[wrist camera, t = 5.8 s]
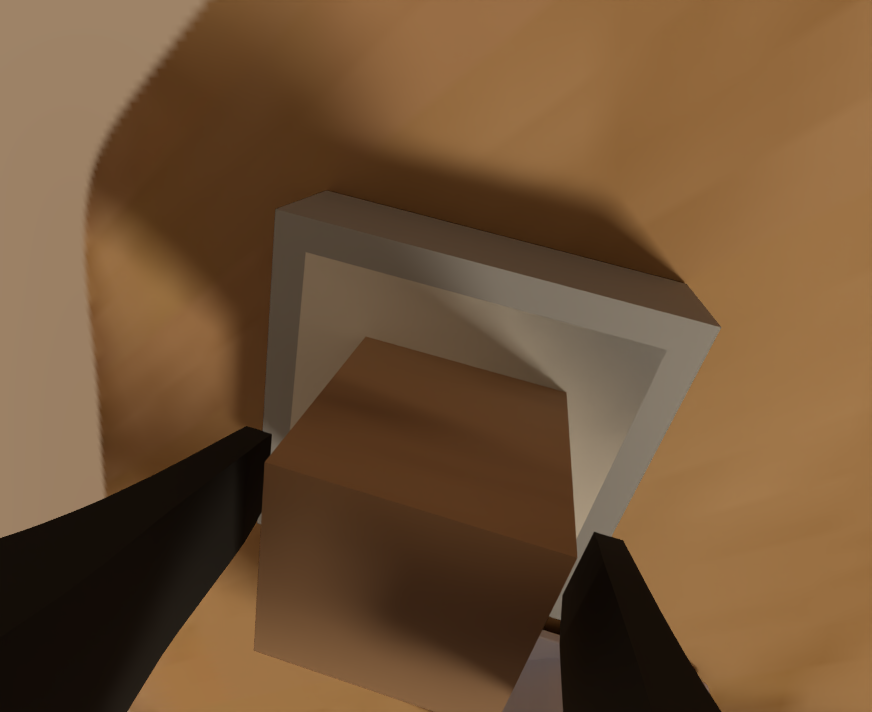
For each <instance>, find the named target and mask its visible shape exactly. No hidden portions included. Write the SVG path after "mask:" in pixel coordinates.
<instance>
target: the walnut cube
mask: <svg viewBox="0 0 872 712" xmlns="http://www.w3.org/2000/svg"><path fill="white" fill-rule="evenodd" d="M577 558H578V557H577V542H576V527H575V512H574V497H573V482H572V467H571V452H570V437H569V422H568V407H567V392H563V391H559V390H556V389H552V388H549V387H545V386H541V385H538V384H534V383H531V382H527V381H524V380H520V379H516V378H513V377H509V376H506V375H502V374H498V373H495V372H491V371H488V370H484V369H481V368H477V367H473V366H470V365H466V364H463V363H459V362H455V361H452V360H448V359H445V358H441V357H438V356H434V355H430V354H427V353H423V352H420V351H416V350H412V349H409V348H405V347H402V346H398V345H395V344H391V343H387V342H384V341H380V340H377V339H373V338H370V337H365V338H364V339H363V340H362V342H361V343H360V344H359V345H358V347H357V348H356V349H355V350H354V352H353V353H352V354H351V355H350V357H349V358H348V359H347V360H346V362H345V363H344V364H343V365H342V367H341V368H340V369H339V370H338V372H337V373H336V374H335V375H334V377H333V378H332V379H331V380H330V381H329V383H328V384H327V385H326V386H325V388H324V389H323V390H322V391H321V393H320V394H319V395H318V396H317V398H316V399H315V400H314V401H313V403H312V404H311V405H310V406H309V408H308V409H307V410H306V411H305V413H304V414H303V415H302V416H301V418H300V419H299V420H298V421H297V423H296V424H295V425H294V426H293V428H292V429H291V430H290V431H289V433H288V434H287V435H286V436H285V437H284V439H283V440H282V441H281V442H280V444H279V445H278V446H277V447H276V449H275V450H274V451H273V452H272V454H271V455H270V456H269V457H268V459H267V460H266V461H265V464H264V482H263V499H262V517H261V534H260V551H259V569H258V586H257V604H256V621H255V639H254V651H256V652H259V653H262V654H265V655H268V656H271V657H274V658H277V659H280V660H283V661H286V662H289V663H292V664H295V665H297V666H300V667H303V668H306V669H309V670H312V671H315V672H318V673H321V674H324V675H327V676H330V677H333V678H336V679H339V680H342V681H345V682H348V683H351V684H353V685H356V686H359V687H362V688H365V689H368V690H371V691H374V692H377V693H380V694H383V695H386V696H389V697H392V698H395V699H398V700H401V701H404V702H407V703H409V704H412V705H415V706H418V707H421V708H424V709H427V710H430V711H433V712H502V711H503V709H504V707H505V705H506V703H507V701H508V699H509V697H510V695H511V693H512V691H513V689H514V687H515V685H516V683H517V681H518V679H519V677H520V675H521V673H522V670H523V668H524V666H525V664H526V662H527V660H528V658H529V656H530V654H531V652H532V650H533V648H534V646H535V644H536V642H537V640H538V638H539V636H540V634H541V632H542V630H543V628H544V626H545V623H546V621H547V619H548V617H549V615H550V613H551V611H552V609H553V607H554V605H555V603H556V601H557V599H558V597H559V595H560V593H561V591H562V589H563V587H564V585H565V583H566V581H567V578H568V576H569V574H570V572H571V570H572V568H573V566H574V564H575V562H576V560H577Z"/></svg>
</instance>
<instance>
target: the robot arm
mask: <svg viewBox="0 0 872 712" xmlns="http://www.w3.org/2000/svg"><path fill="white" fill-rule="evenodd" d="M271 441H272V434H270V433H267V432H264V431H261V430H257V429H254V428H251V427H247V426H246V427H244V428H242V429H240V430H238V431H236V432H234V433H232V434H231V435H229V436H227V437H225V438H223V439H221V440H219V441H217V442H216V443H214V444H212V445H210V446H208V447H206V448H205V449H203V450H201V451H199V452H197V453H195V454H193V455H192V456H190V457H188V458H186V459H184V460H182V461H180V462H178V463H176V464H174V465H172V466H170V467H168V468H167V469H165V470H163V471H161V472H159V473H157V474H155V475H153V476H151V477H149V478H147V479H145V480H143V481H140V482H138V483H136V484H134V485H132V486H130V487H128V488H126V489H123V490H121V491H119V492H117V493H115V494H113V495H111V496H109V497H106V498H104V499H102V500H100V501H97V502H95V503H93V504H90V505H88V506H86V507H84V508H81V509H79V510H76V511H74V512H71V513H68V514H66V515H64V516H61V517H58V518H56V519H53V520H51V521H48V522H45V523H43V524H40V525H38V526H35V527H32V528H29V529H26V530H23V531H20V532H17V533H14V534H12V535H9V536H5V537H2V538H0V712H127V711H128V710H129V708H130V706H131V705H132V703H133V701H134V700H135V698H136V696H137V695H138V693H139V692H140V690H141V688H142V687H143V685H144V683H145V682H146V680H147V679H148V677H149V675H150V674H151V672H152V670H153V669H154V667H155V666H156V664H157V662H158V661H159V659H160V658H161V656H162V654H163V653H164V652H165V650H166V649H167V647H168V646H169V644H170V643H171V641H172V640H173V639H174V637H175V636H176V634H177V633H178V631H179V630H180V629H181V627H182V626H183V625H184V623H185V622H186V621H187V619H188V618H189V617H190V615H191V614H192V613H193V611H194V610H195V609H196V607H197V606H198V605H199V603H200V602H201V601H202V599H203V598H204V597H205V595H206V594H207V592H208V591H209V590H210V588H211V587H212V586H213V584H214V583H215V582H216V580H217V579H218V578H219V576H220V575H221V574H222V572H223V571H224V570H225V568H226V567H227V566H228V564H229V563H230V561H231V560H232V559H233V557H234V556H235V555H236V553H237V552H238V550H239V549H240V548H241V546H242V545H243V544H244V542H245V540H246V539H247V537H248V535H249V534H250V532H251V530H252V528H253V527H254V525H255V523H256V521H257V520H258V518H259V516H260V514H261V513H262V499H263V482H264V464H265V461H266V460H267V459H268V457H269V456H270V455H271ZM502 712H721V711H720V709H719V707H718V706H717V704H716V703H715V701H714V700H713V698H712V697H711V695H710V692H709V689H708V686H707V685H706V684H705V683H704V682H702V681H701V679H700V678H699V676H698V674H697V673H696V671H695V670H694V668H693V666H692V665H691V663H690V661H689V660H688V658H687V656H686V655H685V653H684V651H683V650H682V648H681V646H680V644H679V643H678V641H677V639H676V637H675V636H674V634H673V632H672V630H671V629H670V627H669V625H668V623H667V622H666V620H665V618H664V616H663V614H662V613H661V611H660V609H659V607H658V605H657V603H656V602H655V600H654V598H653V596H652V594H651V592H650V590H649V589H648V587H647V585H646V583H645V581H644V579H643V577H642V575H641V573H640V572H639V570H638V568H637V566H636V564H635V562H634V560H633V558H632V556H631V555H630V553H629V551H628V549H627V547H626V545H625V543H624V541H623V540H620V539H616V538H613V537H610V536H606V535H603V534H600V533H597V532H594V533H593V535H592V537H591V539H590V541H589V543H588V545H587V547H586V549H585V551H584V553H583V555H582V557H581V559H580V561H579V563H578V565H577V567H576V569H575V571H574V573H573V575H572V577H571V579H570V581H569V583H568V585H567V587H566V589H565V591H564V593H563V595H562V608H561V622H560V635H558V634H555V633H552V632H548V631H545V630H542V632H541V634H540V636H539V638H538V640H537V642H536V644H535V646H534V648H533V650H532V652H531V654H530V656H529V658H528V660H527V662H526V664H525V666H524V668H523V670H522V673H521V675H520V677H519V679H518V681H517V683H516V685H515V687H514V689H513V691H512V693H511V695H510V697H509V699H508V701H507V703H506V705H505V707H504V709H503V711H502Z"/></svg>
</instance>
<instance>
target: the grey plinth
mask: <svg viewBox="0 0 872 712" xmlns="http://www.w3.org/2000/svg"><path fill="white" fill-rule="evenodd" d="M720 329H721V326H720V325H719V324H718V323H717V321H716V320H715V319H714V318H713V316H712V315H711V314H710V313H709V311H708V310H707V309H706V308H705V306H704V305H703V304H702V303H701V301H700V300H699V299H698V298H697V296H696V295H695V294H694V293H693V291H692V290H691V289H690V288H689V286H688V285H687V284H685V283H681V282H677V281H673V280H670V279H666V278H662V277H658V276H654V275H650V274H647V273H643V272H639V271H635V270H631V269H627V268H623V267H620V266H616V265H612V264H608V263H604V262H600V261H596V260H593V259H589V258H585V257H581V256H577V255H573V254H570V253H566V252H562V251H558V250H554V249H550V248H546V247H543V246H539V245H535V244H531V243H527V242H523V241H520V240H516V239H512V238H508V237H504V236H500V235H496V234H493V233H489V232H485V231H481V230H477V229H473V228H469V227H466V226H462V225H458V224H454V223H450V222H446V221H443V220H439V219H435V218H431V217H427V216H423V215H419V214H416V213H412V212H408V211H404V210H400V209H396V208H393V207H389V206H385V205H381V204H377V203H373V202H369V201H366V200H362V199H358V198H354V197H350V196H346V195H342V194H339V193H335V192H331V191H327V190H326V191H324V192H321V193H318V194H315V195H313V196H310V197H307V198H304V199H302V200H299V201H296V202H293V203H291V204H288V205H285V206H283V207H280V208H277V209H275V225H274V242H273V260H272V277H271V295H270V312H269V329H268V347H267V364H266V382H265V399H264V417H263V431H264V432H267V433H270V434H272V441H271V454H272V452H273V451H274V450H275V449H276V447H277V446H278V445H279V444H280V442H281V441H282V440H283V439H284V437H285V436H286V435H287V434H288V433H289V431H290V430H291V429H292V428H293V426H294V425H295V424H296V423H297V421H298V420H299V419H300V418H301V416H302V415H303V414H304V413H305V411H306V410H307V409H308V408H309V406H310V405H311V404H312V403H313V401H314V400H315V399H316V398H317V396H318V395H319V394H320V393H321V391H322V390H323V389H324V388H325V386H326V385H327V384H328V383H329V381H330V380H331V379H332V378H333V377H334V375H335V374H336V373H337V372H338V370H339V369H340V368H341V367H342V365H343V364H344V363H345V362H346V360H347V359H348V358H349V357H350V355H351V354H352V353H353V352H354V350H355V349H356V348H357V347H358V345H359V344H360V343H361V342H362V340H363V339H364V338H365V337H370V338H373V339H377V340H380V341H384V342H387V343H391V344H395V345H398V346H402V347H405V348H409V349H412V350H416V351H420V352H423V353H427V354H430V355H434V356H438V357H441V358H445V359H448V360H452V361H455V362H459V363H463V364H466V365H470V366H473V367H477V368H481V369H484V370H488V371H491V372H495V373H498V374H502V375H506V376H509V377H513V378H516V379H520V380H524V381H527V382H531V383H534V384H538V385H541V386H545V387H549V388H552V389H556V390H559V391H563V392H567V407H568V422H569V437H570V452H571V467H572V482H573V497H574V512H575V527H576V542H577V557H578V558H577V560H576V562H575V564H574V566H573V568H572V570H571V572H570V574H569V576H568V578H567V581H566V583H565V585H564V587H563V589H562V591H561V593H560V595H559V597H558V599H557V601H556V603H555V605H554V607H553V609H552V611H551V613H550V615H549V617H552V618H555V619H559V620H561V608H562V595H563V593H564V591H565V589H566V587H567V585H568V583H569V581H570V579H571V577H572V575H573V573H574V571H575V569H576V567H577V565H578V563H579V561H580V559H581V557H582V555H583V553H584V551H585V549H586V547H587V545H588V543H589V541H590V539H591V537H592V535H593V533H594V532H597V533H600V534H603V535H606V536H610V537H611V536H612V534H613V532H614V530H615V528H616V527H617V525H618V523H619V521H620V519H621V517H622V515H623V513H624V511H625V509H626V508H627V506H628V504H629V502H630V500H631V498H632V496H633V494H634V492H635V490H636V488H637V487H638V485H639V483H640V481H641V479H642V477H643V475H644V473H645V471H646V469H647V468H648V466H649V464H650V462H651V460H652V458H653V456H654V454H655V452H656V450H657V449H658V447H659V445H660V443H661V441H662V439H663V437H664V435H665V433H666V431H667V430H668V428H669V426H670V424H671V422H672V420H673V418H674V416H675V414H676V412H677V410H678V409H679V407H680V405H681V403H682V401H683V399H684V397H685V395H686V393H687V391H688V390H689V388H690V386H691V384H692V382H693V380H694V378H695V376H696V374H697V372H698V371H699V369H700V367H701V365H702V363H703V361H704V359H705V357H706V355H707V353H708V352H709V350H710V348H711V346H712V344H713V342H714V340H715V338H716V336H717V334H718V332H719V331H720ZM261 517H262V513H261V514H260V516H259V518H258V522H257V523H258V524H261Z"/></svg>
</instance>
